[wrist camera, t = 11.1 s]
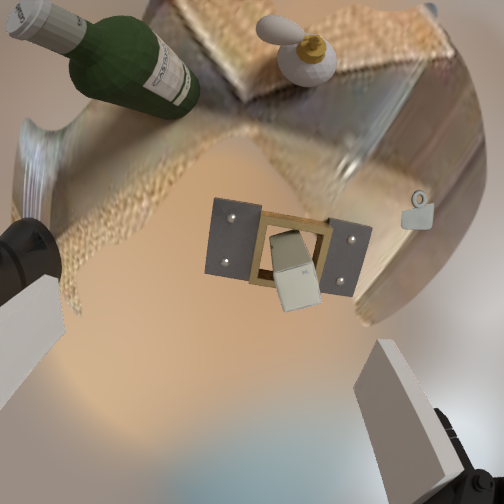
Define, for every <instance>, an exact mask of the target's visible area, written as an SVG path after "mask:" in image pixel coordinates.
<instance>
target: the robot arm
mask: <svg viewBox="0 0 504 504" xmlns="http://www.w3.org/2000/svg"><path fill="white" fill-rule="evenodd" d="M61 272H62V265H61V257H60V253H59V249H58V247H57V244H56V242H55V240H54V238H53V236H52V234H51V233H50V231H49V230H48V229H47V228H46V227H45V226H44V225H43V224H42V223H41V222H40V221H38V220H36V219H34V218H23V219H21V220H18V221H16V222H14V223H13V224H11V225H10V226H9V228H8V229H7V230H6V231H5V232H4V233H3V234H2V235H1V236H0V410H1V409H2V407H3V406H4V405H5V403H6V402H7V401H8V400H9V398H10V397H11V396H12V394H13V393H14V392H15V391H16V389H17V388H18V387H19V386H20V385H21V383H22V382H23V381H24V379H25V378H26V377H27V376H28V374H30V372H31V371H32V370H33V369H34V368H35V366H36V365H37V364H38V363H39V362H40V360H41V359H42V358H43V357H44V356H45V355H46V354H47V352H48V351H49V350H50V349H51V348H52V347H53V346H54V345H55V343H56V342H57V341H58V340H59V339H60V338H61V337H62V336H63V335H64V334H65V327H64V321H63V315H62V308H61V301H60V293H59V281H60V278H61ZM353 389H354V392H355V395H356V398H357V401H358V403H359V407H360V410H361V413H362V416H363V419H364V422H365V425H366V428H367V431H368V434H369V437H370V441H371V444H372V447H373V450H374V453H375V457H376V460H377V463H378V466H379V470H380V473H381V477H382V480H383V484H384V487H385V491H386V494H387V497H388V502H389V504H504V477H497V478H496V477H494V478H493V477H492V476H491V475H490V473H489V472H487V471H485V470H483V469H476V470H475V469H474V468H473V466H472V464H471V462H470V460H469V458H468V456H467V454H466V452H465V450H464V448H463V446H462V444H461V442H460V441H459V438H457V435H456V433H455V431H454V430H452V426H451V424H450V422H449V420H448V418H447V417H446V416H445V415H444V414H443V413H442V412H441V411H440V410H439V409H438V408H433V407H432V405H431V404H430V402H429V400H428V398H427V396H426V395H425V393H424V391H423V390H422V388H421V386H420V384H419V383H418V381H417V379H416V378H415V376H414V374H413V372H412V371H411V369H410V367H409V366H408V364H407V362H406V361H405V359H404V357H403V356H402V354H401V352H400V351H399V349H398V348H397V346H396V344H395V343H394V341H393V340H388V339H377V340H376V343H375V345H374V347H373V349H372V351H371V353H370V355H369V358H368V360H367V362H366V364H365V366H364V368H363V370H362V372H361V374H360V376H359V377H358V379H357V381H356V383H355V385H354V387H353Z"/></svg>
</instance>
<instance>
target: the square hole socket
mask: <svg viewBox="0 0 504 504" xmlns="http://www.w3.org/2000/svg"><path fill="white" fill-rule="evenodd" d="M261 209H262V205H259V204H253V203H247V202H241V201H235V200H229V199H222V198H216V197H215V198H214V203H213V211H212V217H211V225H210V232H209V240H208V249H207V257H206V265H205V274H211V275H216V276H222V277H228V278H234V279H239V280H245V281H249V284H254V285H260V286H266V287H273V288H276V284H275V280H274V276H273V271H269V270H263V269H259V266H260V261H261V256H262V250H263V245H264V240H265V234H266V229H267V224H268V225H273V226H279V227H285V228H291V229H296V230H301V231H307V232H312V233H317V234H318V237H317V241H316V245H315V250H314V254H313V258H312V261H313V263H314V267H315V271H316V275H317V279H318V284H319V289H320V292H322V293H328V294H334V295H342V296H349V297H353V294H354V291H355V288H356V284H357V281H358V278H359V275H360V271H361V268H362V265H363V261H364V258H365V254H366V251H367V247H368V244H369V240H370V236H371V232H372V229H373V228H372V227H370V226H366V225H362V224H357V223H352V222H348V221H343V220H338V219H333V218H329V219H328V223H327V222H322V221H316V220H311V219H306V218H301V217H295V216H290V215H284V214H279V213H272V212H267V211H262V210H261Z"/></svg>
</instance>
